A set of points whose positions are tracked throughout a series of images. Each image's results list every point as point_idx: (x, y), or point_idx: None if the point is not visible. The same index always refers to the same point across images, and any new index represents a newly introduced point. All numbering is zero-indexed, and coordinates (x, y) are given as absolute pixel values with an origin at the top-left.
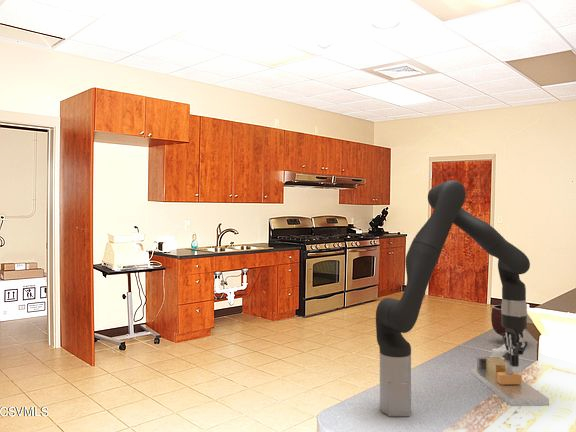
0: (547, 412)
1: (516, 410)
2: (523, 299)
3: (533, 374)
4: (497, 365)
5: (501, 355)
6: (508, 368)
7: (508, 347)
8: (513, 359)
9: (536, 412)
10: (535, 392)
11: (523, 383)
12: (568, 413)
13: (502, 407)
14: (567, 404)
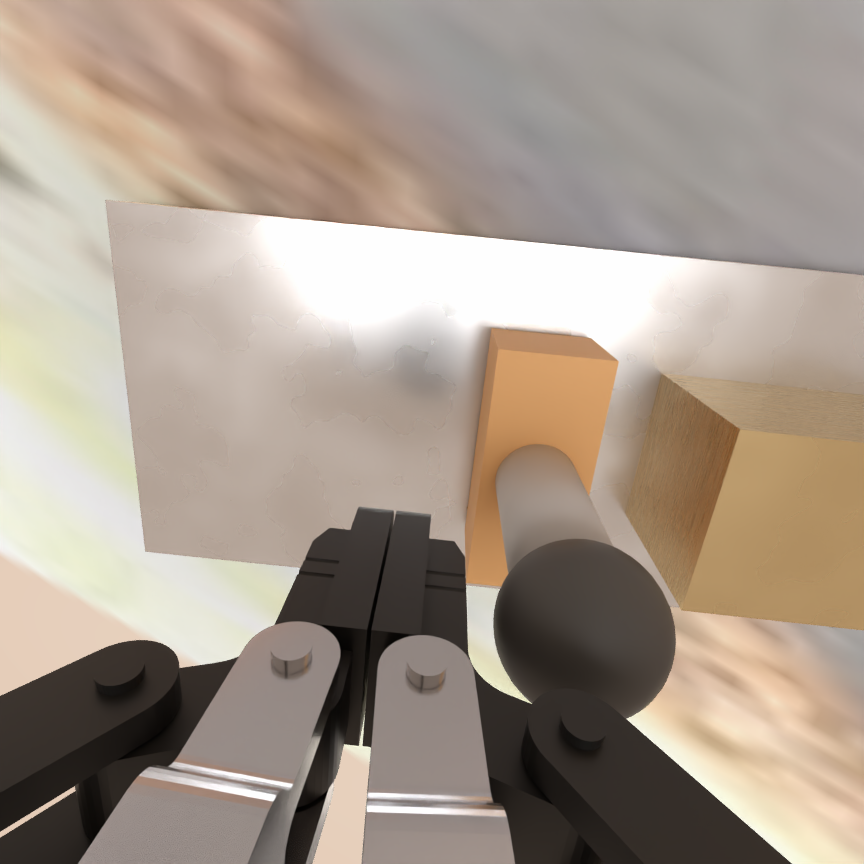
0: (30, 431)
1: (34, 196)
2: None
3: (780, 774)
4: (729, 449)
5: None
6: (510, 493)
7: (475, 768)
8: (324, 587)
9: (16, 347)
10: (281, 532)
11: None
12: (34, 556)
13: (90, 92)
14: (194, 641)
